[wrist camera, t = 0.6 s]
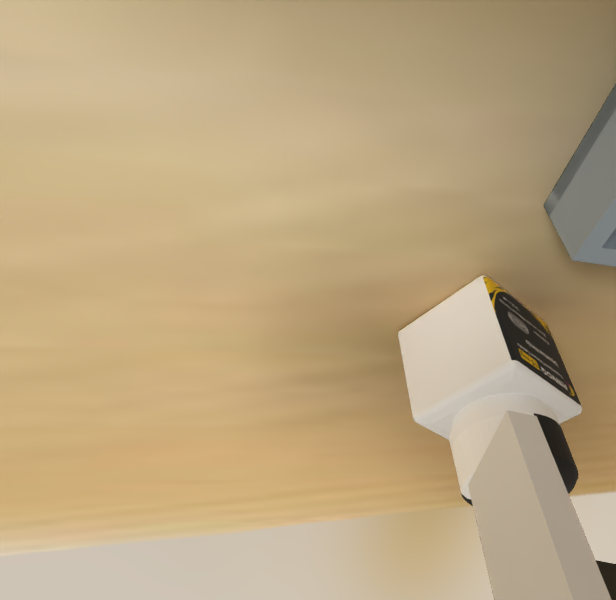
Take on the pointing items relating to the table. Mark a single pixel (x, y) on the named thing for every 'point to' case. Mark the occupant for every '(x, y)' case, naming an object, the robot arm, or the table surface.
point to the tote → (589, 193)
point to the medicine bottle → (486, 375)
